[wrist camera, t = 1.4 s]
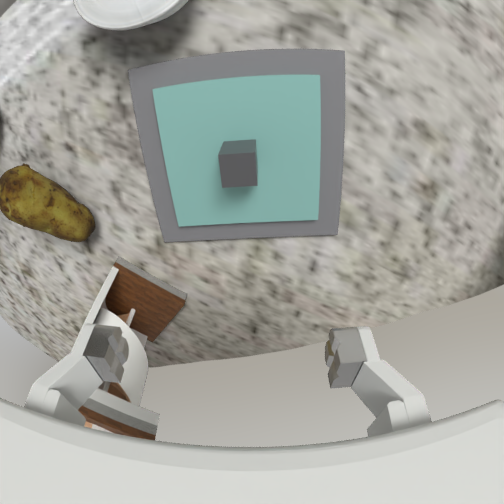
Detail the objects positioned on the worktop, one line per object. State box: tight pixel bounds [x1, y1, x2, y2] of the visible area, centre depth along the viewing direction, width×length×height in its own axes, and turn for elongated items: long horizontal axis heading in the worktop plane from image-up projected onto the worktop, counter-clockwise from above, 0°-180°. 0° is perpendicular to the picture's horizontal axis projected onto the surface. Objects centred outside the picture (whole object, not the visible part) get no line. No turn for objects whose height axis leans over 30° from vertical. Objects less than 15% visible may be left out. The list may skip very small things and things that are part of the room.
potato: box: [0, 164, 95, 242], centre depth 28 cm, size 8×13×8 cm, turn 24°
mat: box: [128, 49, 345, 242], centre depth 28 cm, size 20×20×1 cm
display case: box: [70, 257, 187, 440], centre depth 28 cm, size 11×11×35 cm
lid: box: [152, 74, 321, 227], centre depth 26 cm, size 15×15×5 cm
